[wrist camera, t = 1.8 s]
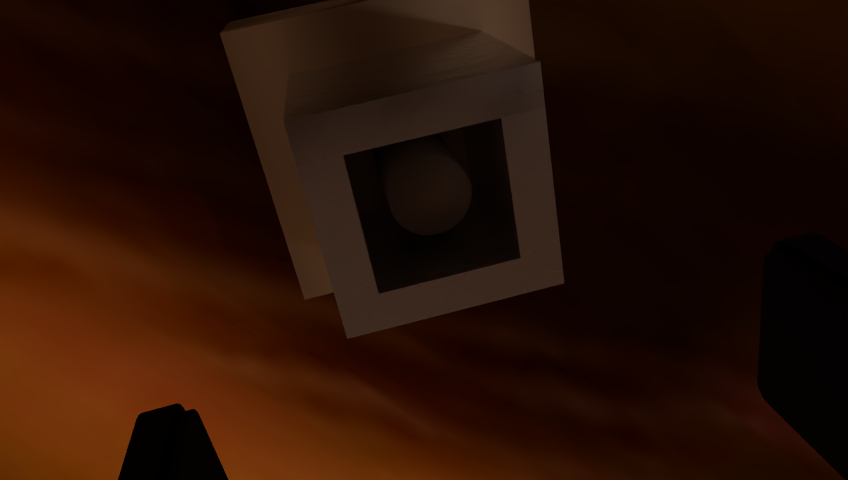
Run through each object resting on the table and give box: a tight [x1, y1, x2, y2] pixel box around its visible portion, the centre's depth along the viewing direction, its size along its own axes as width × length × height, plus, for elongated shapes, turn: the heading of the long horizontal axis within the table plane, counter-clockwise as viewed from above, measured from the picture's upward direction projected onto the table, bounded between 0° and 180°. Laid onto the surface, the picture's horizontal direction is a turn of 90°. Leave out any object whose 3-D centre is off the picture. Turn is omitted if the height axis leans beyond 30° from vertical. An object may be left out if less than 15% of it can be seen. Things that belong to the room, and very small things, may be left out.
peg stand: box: [220, 0, 535, 299], centre depth 22 cm, size 10×10×8 cm
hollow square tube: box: [284, 31, 564, 339], centre depth 21 cm, size 7×7×6 cm
